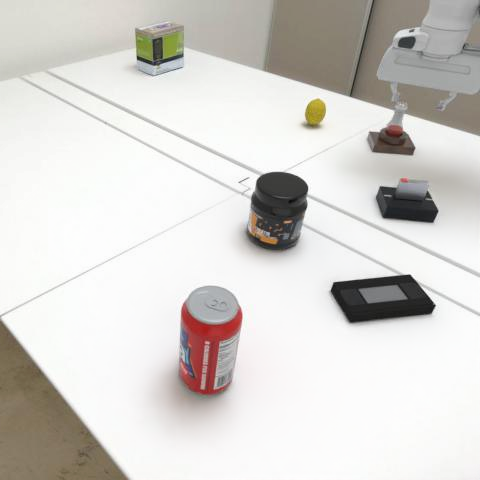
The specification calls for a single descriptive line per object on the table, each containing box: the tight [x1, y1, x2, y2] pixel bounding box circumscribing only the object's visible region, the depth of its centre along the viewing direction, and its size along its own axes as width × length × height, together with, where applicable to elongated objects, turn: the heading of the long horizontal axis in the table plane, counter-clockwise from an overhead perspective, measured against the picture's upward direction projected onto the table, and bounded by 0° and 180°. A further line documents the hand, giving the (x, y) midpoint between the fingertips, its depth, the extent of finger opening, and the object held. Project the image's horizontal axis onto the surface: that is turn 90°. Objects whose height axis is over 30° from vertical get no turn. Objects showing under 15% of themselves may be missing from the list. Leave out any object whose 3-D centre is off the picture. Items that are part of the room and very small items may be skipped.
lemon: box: [304, 97, 327, 127], centre depth 129 cm, size 6×6×8 cm
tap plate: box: [375, 185, 440, 224], centre depth 98 cm, size 10×8×3 cm
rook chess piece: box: [385, 101, 409, 129], centre depth 126 cm, size 4×4×8 cm
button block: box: [366, 127, 416, 156], centre depth 120 cm, size 10×8×4 cm
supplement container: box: [246, 171, 309, 250], centre depth 88 cm, size 10×10×12 cm
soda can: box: [178, 285, 244, 396], centre depth 62 cm, size 8×8×15 cm
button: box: [386, 125, 404, 137], centre depth 118 cm, size 4×4×2 cm
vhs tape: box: [330, 274, 437, 323], centre depth 77 cm, size 8×14×2 cm, turn 98°
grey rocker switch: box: [394, 177, 431, 201], centre depth 95 cm, size 6×2×4 cm, turn 80°
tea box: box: [134, 20, 185, 76], centre depth 165 cm, size 15×10×15 cm, turn 130°
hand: (417, 105), depth 102 cm, fingers open, 8 cm apart
